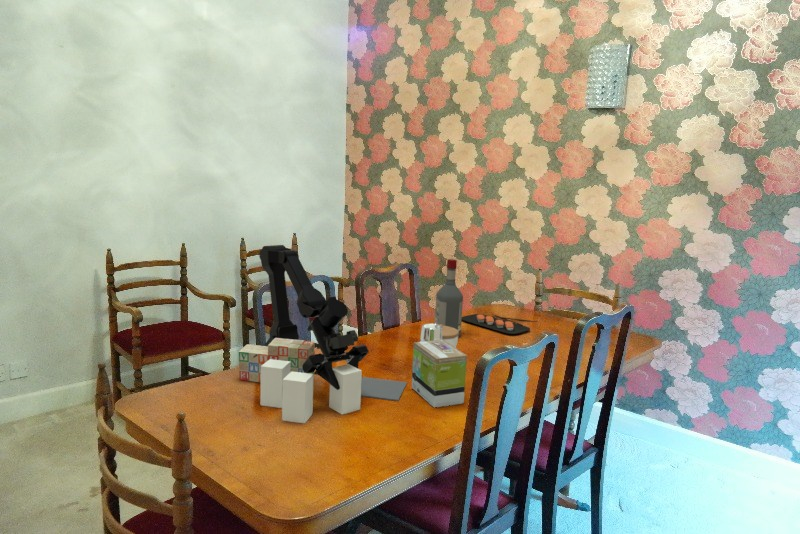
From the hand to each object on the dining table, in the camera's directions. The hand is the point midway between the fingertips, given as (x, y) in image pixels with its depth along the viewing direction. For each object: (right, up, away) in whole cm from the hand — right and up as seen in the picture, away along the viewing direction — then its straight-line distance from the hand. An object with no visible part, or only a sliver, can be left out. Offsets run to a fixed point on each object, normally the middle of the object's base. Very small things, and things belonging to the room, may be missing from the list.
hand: (348, 386), depth 157 cm
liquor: (+32, +5, +74) cm, 81 cm away
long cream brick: (-20, -5, +4) cm, 21 cm away
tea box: (+24, -6, +14) cm, 29 cm away
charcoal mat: (+8, -4, +17) cm, 19 cm away
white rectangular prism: (-1, -6, +2) cm, 7 cm away
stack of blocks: (-23, -2, +19) cm, 30 cm away
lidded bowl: (+27, +1, +50) cm, 57 cm away
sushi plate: (+59, +7, +97) cm, 114 cm away
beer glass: (+23, -2, +34) cm, 41 cm away
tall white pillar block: (-13, -7, -5) cm, 15 cm away
